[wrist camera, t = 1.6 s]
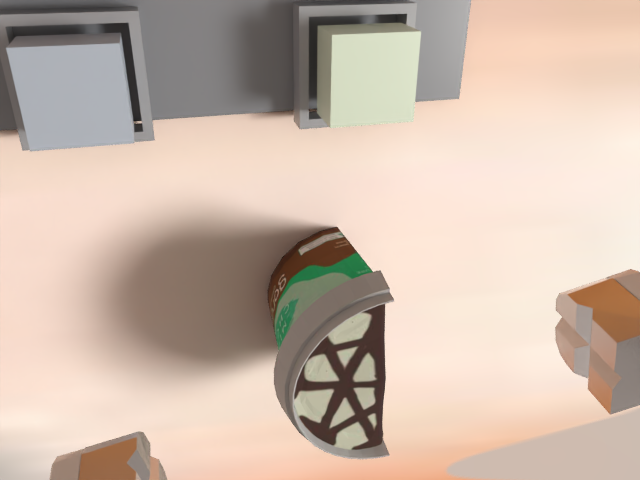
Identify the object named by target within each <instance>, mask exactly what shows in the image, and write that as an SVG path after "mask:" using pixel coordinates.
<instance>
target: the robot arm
mask: <svg viewBox="0 0 640 480" xmlns="http://www.w3.org/2000/svg"><path fill="white" fill-rule="evenodd" d="M556 311H557V312H558V313H559V314H560V315H561V316H562V318H561V320H560V321H559V323H558V324H557V326H556V327H555V331H556V343H557V346H558V349H559V352H560V354H561V356H562V358H563V359H564V361H565V363H566V364H567V365H568V367H569V368H570V369H571V370H572V371H573V372H574V373H576V374H578V375H581V376H583V377H586V378H588V390H589V391H590V392H591V393H592V394H593V395H594V397H595V398H596V399H597V400H598V401H599V402H600V403H601V405H602V406H603V407H604V408H605V409H606V410H607V411H608V412H609V414H613V413H616V412H619V411H623V410H626V409H629V408H632V407H635V406H638V405H640V272H638V271H636V270H632V269H630V270H627V271H624V272H621V273H618V274H615V275H612V276H609V277H607V278H605V279H601V280H598V281H595V282H592V283H589V284H586V285H583V286H580V287H577V288H574V289H571V290H568V291H565V292H562V293H559V295H558V297H557V299H556ZM50 480H167V477H166V475H165V472H164V469H163V467H162V465H161V463H160V461H159V459H156V458H154V457H151V456H150V443H149V441H148V439H147V438H146V436H145V434H144V433H143V432H136V433H132V434H129V435H126V436H122V437H119V438H116V439H112V440H109V441H106V442H103V443H99V444H96V445H93V446H89V447H86V448H85V449H81V450H78V451H75V452H71V453H68V454H65V455H61V456H58V457H57V458H56V459H55V461H54V463H53V464H52V468H51V474H50Z"/></svg>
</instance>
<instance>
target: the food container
mask: <svg viewBox="0 0 640 480" xmlns="http://www.w3.org/2000/svg"><path fill="white" fill-rule="evenodd" d="M393 301H394V299H393V297H392V296H391V294H390V289H389V287H388V285H387V283H386V281H385V279H384V277H383V275H382V273H381V271H380V270H379V271H376V272H373V271H372V270H371V269H370V268H369V266H368V265H367V264H366V263H365V261H364V260H363V259H362V257H361V256H360V255H359V254H358V252H357V251H356V250H355V249H354V247H353V246H352V245H351V244H350V242H349V241H348V240H347V239H346V237H345V236H344V235H343V234H342V232H341V231H340V230H339V229H338V227H336V228H332V229H328V230H323V231H320V232H318V233H316V234H314V235H312V236H310V237H308V238H306V239H304V240H302V241H300V242H299V243H298V244H297V245H296V246H294V247H293V248H292V249H291V250H290V251H289V252H288V253H287V254H286V255H285V256H284V257H282V259H281V261H280V262H279V264H278V266H277V267H276V269H275V271H274V272H273V274H272V276H271V280H270V284H269V288H268V303H269V308H270V313H271V318H272V322H273V327H274V332H275V336H276V341H277V346H278V350H279V352H278V354H277V358H276V363H275V368H274V385H275V390H276V395H277V398H278V400H279V402H280V404H281V407H282V408H283V410H284V411H285V413H286V414H287V416H288V417H289V419H290V420H291V422H292V423H293V425H294V426H295V427H296V429H297V430H298V432H299V433H301V434H302V435H303V436H304V437H305V438H306V439H307V440H309V441H310V442H311V443H312V444H313V445H314V446H316V447H318V448H319V449H321V450H323V451H325V452H327V453H330V454H332V455H335V456H339V457H344V458H349V459H372V458H380V457H385V456H389V452H388V450H387V448H386V445H385V443H384V441H383V438H382V437H383V430H382V416H383V399H384V391H385V380H386V376H385V344H384V331H385V304H386V303H389V302H393Z"/></svg>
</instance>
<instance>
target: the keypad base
mask: <svg viewBox="0 0 640 480" xmlns="http://www.w3.org/2000/svg"><path fill="white" fill-rule="evenodd" d="M470 5H471V0H0V130H15V129H18V134H19V138H20V142H21V146H22V150H30V148H29V144H28V140H27V136H26V131H25V127H24V123H23V118H22V114H21V110H20V106H19V101H18V97H17V93H16V88H15V84H14V80H13V76H12V71H11V67H10V63H9V58H8V54H7V50H6V47H7V46H8V45H9V44H10V43H11V42H12V41H13V39H14V38H15V37H16V36H39V35H67V34H95V33H121V38H122V45H123V52H124V59H125V66H126V73H127V80H128V87H129V94H130V101H131V108H132V115H133V121H142V124H134V142H140V141H153V140H155V139H154V129H153V122H152V120H159V119H174V118H188V117H203V116H217V115H231V114H246V113H260V112H275V111H289V110H294V122H295V123H296V125H297V126H298V127H299V129H309V128H322V127H329V126H328V125H327V124H326V123H325V121H324V120H323V119H322V118H321V117H320V116H319V115H318V114H317V111H312V112H309V109H317V37H318V26H319V25H347V24H375V23H403V24H406V25H408V26H410V27H412V28H415V29H417V30H419V31H421V40H420V51H419V63H418V74H417V86H416V97H415V102H419V101H434V100H448V99H459V95H460V87H461V78H462V70H463V62H464V54H465V46H466V38H467V29H468V21H469V13H470Z"/></svg>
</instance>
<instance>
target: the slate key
mask: <svg viewBox="0 0 640 480" xmlns="http://www.w3.org/2000/svg"><path fill="white" fill-rule="evenodd" d="M6 50H7V54H8V58H9V63H10V67H11V71H12V76H13V80H14V84H15V88H16V93H17V97H18V101H19V106H20V110H21V114H22V118H23V123H24V127H25V131H26V136H27V140H28V144H29V148H30V151H39V150H52V149H65V148H78V147H91V146H104V145H117V144H130V143H134V122H133V115H132V108H131V101H130V94H129V87H128V80H127V73H126V66H125V59H124V52H123V45H122V38H121V33H95V34H67V35H39V36H16V37H15V38H14V39H13V41H12V42H11V43H10V44H9V45H8V46H7V47H6Z"/></svg>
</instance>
